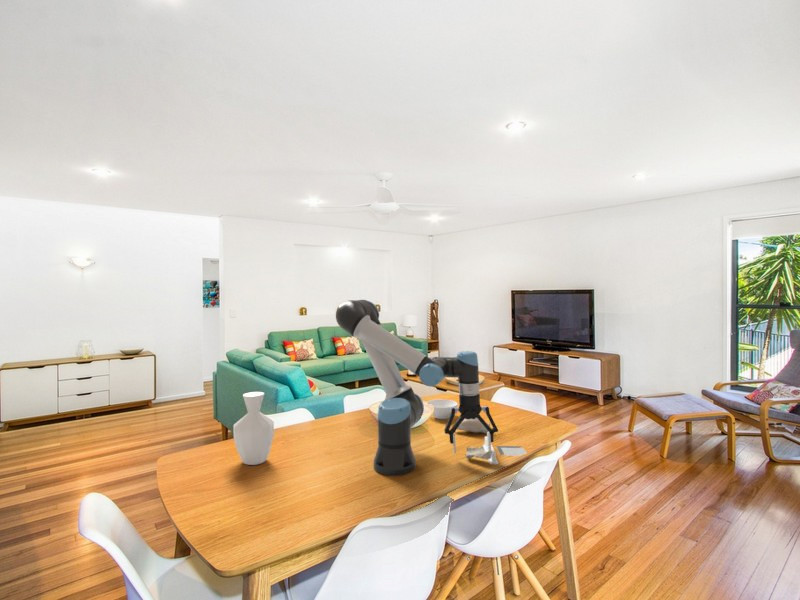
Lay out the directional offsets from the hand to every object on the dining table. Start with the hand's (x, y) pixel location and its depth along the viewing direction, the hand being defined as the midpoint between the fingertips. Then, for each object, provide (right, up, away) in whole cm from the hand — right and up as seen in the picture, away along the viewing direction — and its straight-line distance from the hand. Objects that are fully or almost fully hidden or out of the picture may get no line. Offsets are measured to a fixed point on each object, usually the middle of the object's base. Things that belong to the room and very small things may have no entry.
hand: (472, 451), depth 147 cm
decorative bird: (0, -5, +29) cm, 30 cm away
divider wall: (+8, -3, +5) cm, 10 cm away
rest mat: (+18, -3, +8) cm, 20 cm away
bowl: (-5, -4, +54) cm, 55 cm away
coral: (-1, -4, +1) cm, 4 cm away
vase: (-81, -4, +1) cm, 82 cm away
